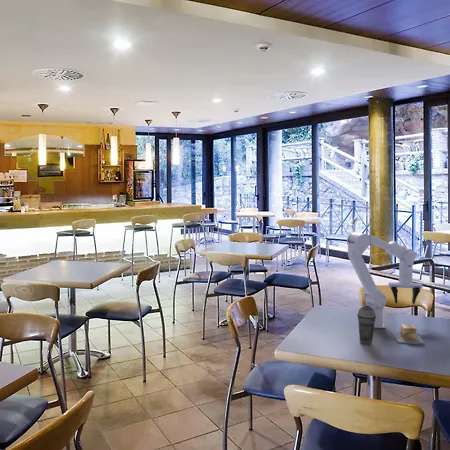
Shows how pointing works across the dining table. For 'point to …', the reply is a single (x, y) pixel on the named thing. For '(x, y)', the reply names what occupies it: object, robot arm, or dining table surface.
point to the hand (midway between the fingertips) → (404, 303)
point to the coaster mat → (400, 340)
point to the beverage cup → (366, 324)
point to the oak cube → (408, 332)
